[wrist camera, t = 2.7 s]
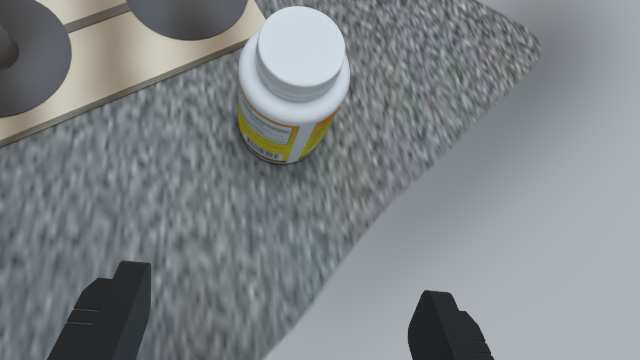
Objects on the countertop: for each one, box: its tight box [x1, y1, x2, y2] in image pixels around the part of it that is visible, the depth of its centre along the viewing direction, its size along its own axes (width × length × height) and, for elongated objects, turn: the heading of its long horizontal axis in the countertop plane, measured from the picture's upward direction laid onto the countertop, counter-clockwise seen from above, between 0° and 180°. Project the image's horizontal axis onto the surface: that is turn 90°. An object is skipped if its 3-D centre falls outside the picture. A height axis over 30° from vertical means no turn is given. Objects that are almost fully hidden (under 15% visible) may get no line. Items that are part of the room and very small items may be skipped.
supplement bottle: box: [238, 6, 350, 164], centre depth 25 cm, size 6×6×10 cm
